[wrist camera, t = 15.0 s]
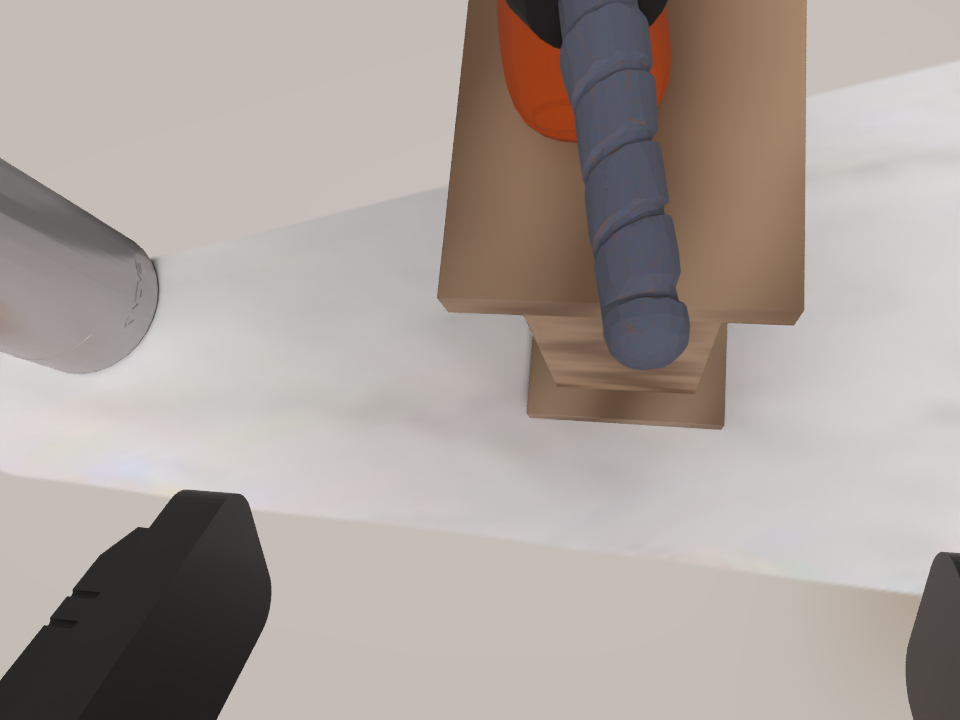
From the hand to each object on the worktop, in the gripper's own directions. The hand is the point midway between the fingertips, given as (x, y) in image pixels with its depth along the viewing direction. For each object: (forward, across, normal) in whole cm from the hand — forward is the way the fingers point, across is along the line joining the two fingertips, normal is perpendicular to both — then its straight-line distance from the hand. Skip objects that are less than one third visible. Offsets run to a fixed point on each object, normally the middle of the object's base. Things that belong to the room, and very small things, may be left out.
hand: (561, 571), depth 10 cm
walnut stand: (+33, 0, +15) cm, 36 cm away
